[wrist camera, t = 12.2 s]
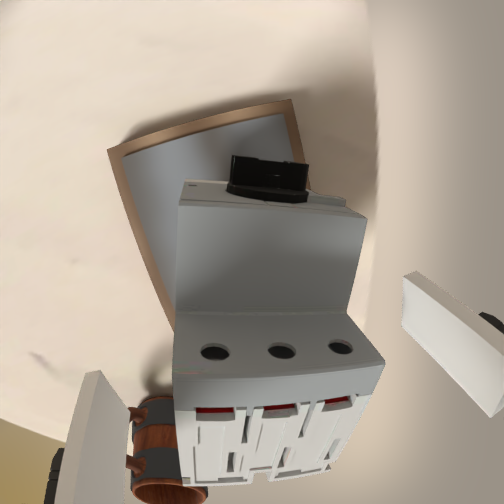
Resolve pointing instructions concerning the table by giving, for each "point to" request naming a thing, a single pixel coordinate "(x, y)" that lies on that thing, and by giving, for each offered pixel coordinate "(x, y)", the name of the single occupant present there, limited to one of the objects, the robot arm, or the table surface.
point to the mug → (158, 456)
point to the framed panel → (192, 175)
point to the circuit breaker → (266, 326)
